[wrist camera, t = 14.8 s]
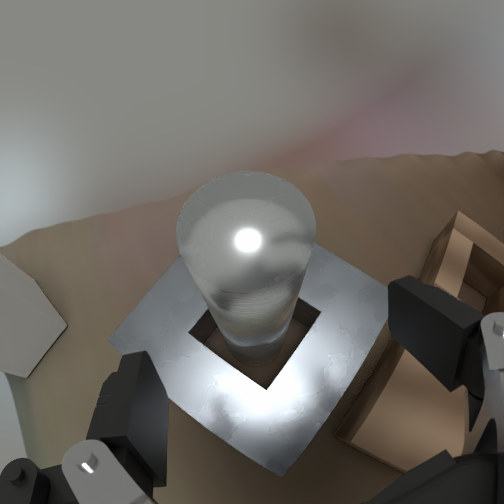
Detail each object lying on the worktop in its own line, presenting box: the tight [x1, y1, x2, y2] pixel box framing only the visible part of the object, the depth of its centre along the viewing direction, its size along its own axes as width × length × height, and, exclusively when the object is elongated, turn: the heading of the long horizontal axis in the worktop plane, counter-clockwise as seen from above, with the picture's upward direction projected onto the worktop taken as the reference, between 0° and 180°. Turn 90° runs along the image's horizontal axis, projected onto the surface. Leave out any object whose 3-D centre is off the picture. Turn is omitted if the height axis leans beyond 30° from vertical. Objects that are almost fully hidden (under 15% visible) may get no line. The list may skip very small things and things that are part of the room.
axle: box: [176, 171, 316, 367], centre depth 16 cm, size 4×4×16 cm
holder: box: [108, 243, 388, 478], centre depth 21 cm, size 14×14×4 cm
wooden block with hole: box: [333, 211, 504, 473], centre depth 19 cm, size 20×10×5 cm, turn 144°
